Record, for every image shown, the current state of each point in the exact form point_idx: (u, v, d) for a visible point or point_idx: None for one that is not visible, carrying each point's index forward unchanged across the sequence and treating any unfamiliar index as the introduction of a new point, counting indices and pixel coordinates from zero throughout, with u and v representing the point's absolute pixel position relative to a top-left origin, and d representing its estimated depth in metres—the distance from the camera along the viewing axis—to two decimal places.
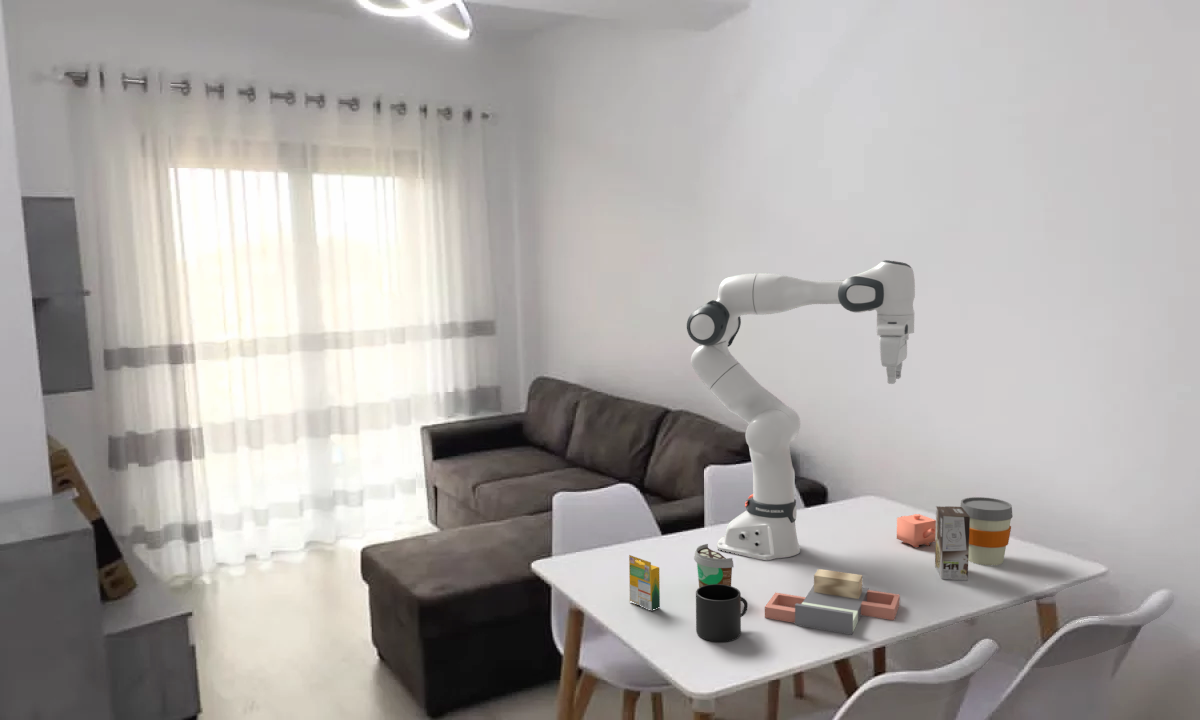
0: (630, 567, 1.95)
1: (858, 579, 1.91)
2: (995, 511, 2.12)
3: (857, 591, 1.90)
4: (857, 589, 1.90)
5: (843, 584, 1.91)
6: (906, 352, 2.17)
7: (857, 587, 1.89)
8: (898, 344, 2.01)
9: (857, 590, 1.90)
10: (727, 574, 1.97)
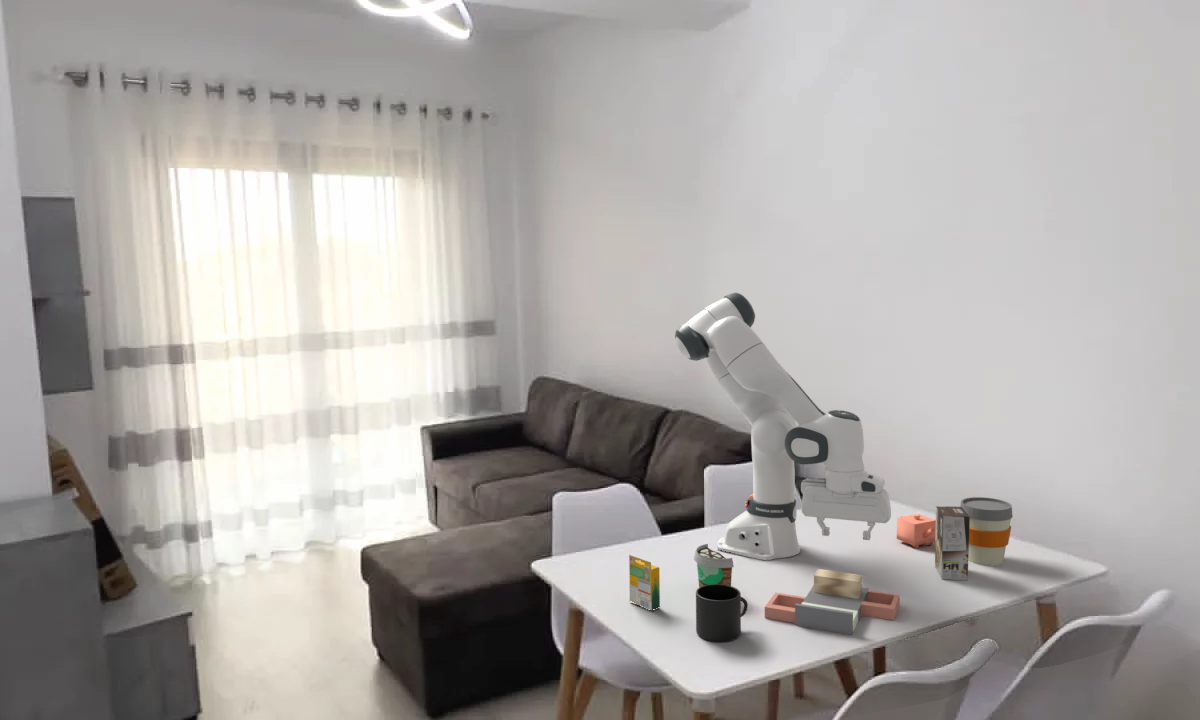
0: (630, 567, 1.95)
1: (858, 579, 1.91)
2: (995, 511, 2.12)
3: (857, 591, 1.90)
4: (857, 589, 1.90)
5: (843, 584, 1.91)
6: None
7: (857, 587, 1.89)
8: (888, 496, 1.95)
9: (857, 590, 1.90)
10: (727, 574, 1.97)
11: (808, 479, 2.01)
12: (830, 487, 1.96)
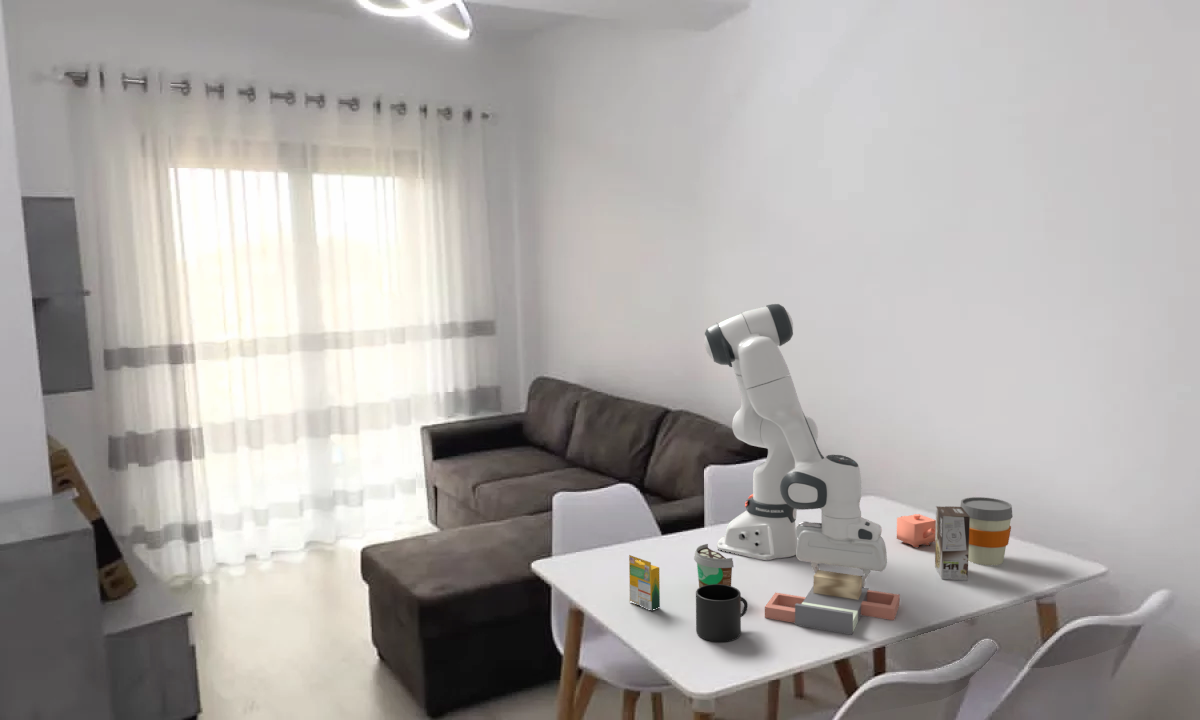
0: (630, 567, 1.95)
1: (858, 580, 1.90)
2: (995, 511, 2.12)
3: (857, 591, 1.89)
4: (857, 590, 1.89)
5: (842, 585, 1.90)
6: None
7: (857, 588, 1.89)
8: (884, 543, 1.92)
9: (857, 591, 1.89)
10: (727, 574, 1.97)
11: (804, 523, 1.98)
12: (826, 533, 1.93)
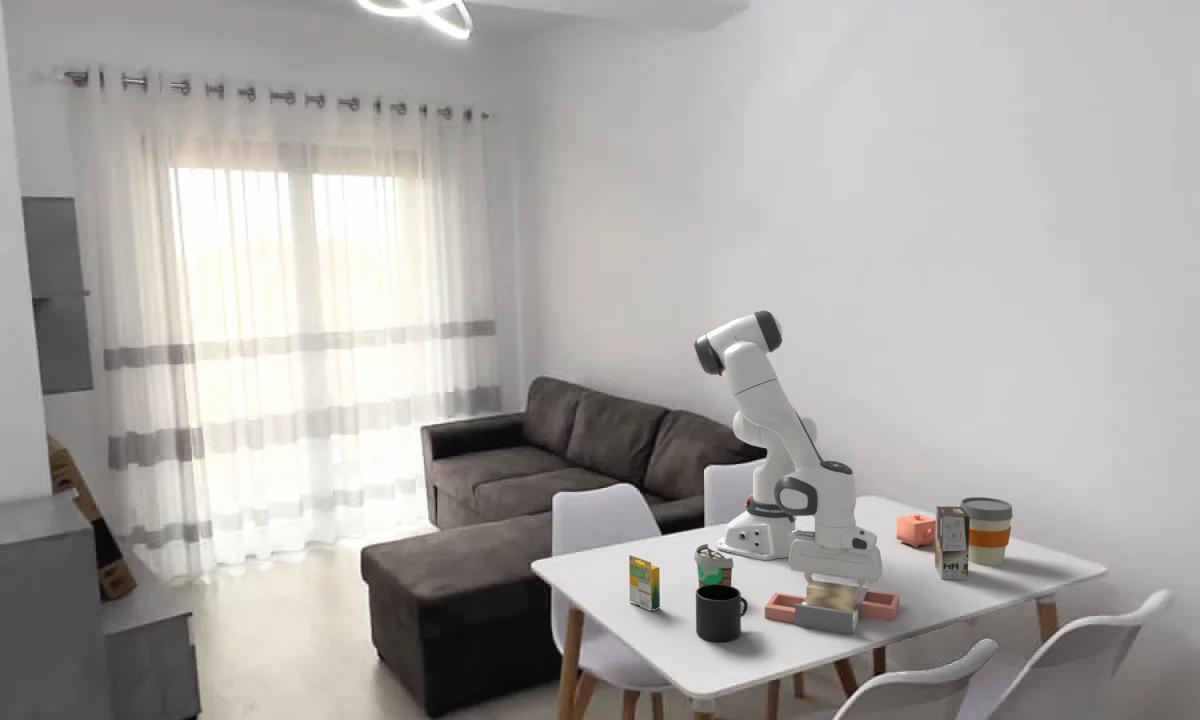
0: (630, 567, 1.95)
1: (852, 591, 1.84)
2: (995, 511, 2.12)
3: (851, 603, 1.83)
4: (851, 601, 1.83)
5: (836, 596, 1.84)
6: None
7: (851, 599, 1.83)
8: None
9: (851, 602, 1.83)
10: (727, 574, 1.97)
11: (796, 532, 1.92)
12: (819, 542, 1.86)
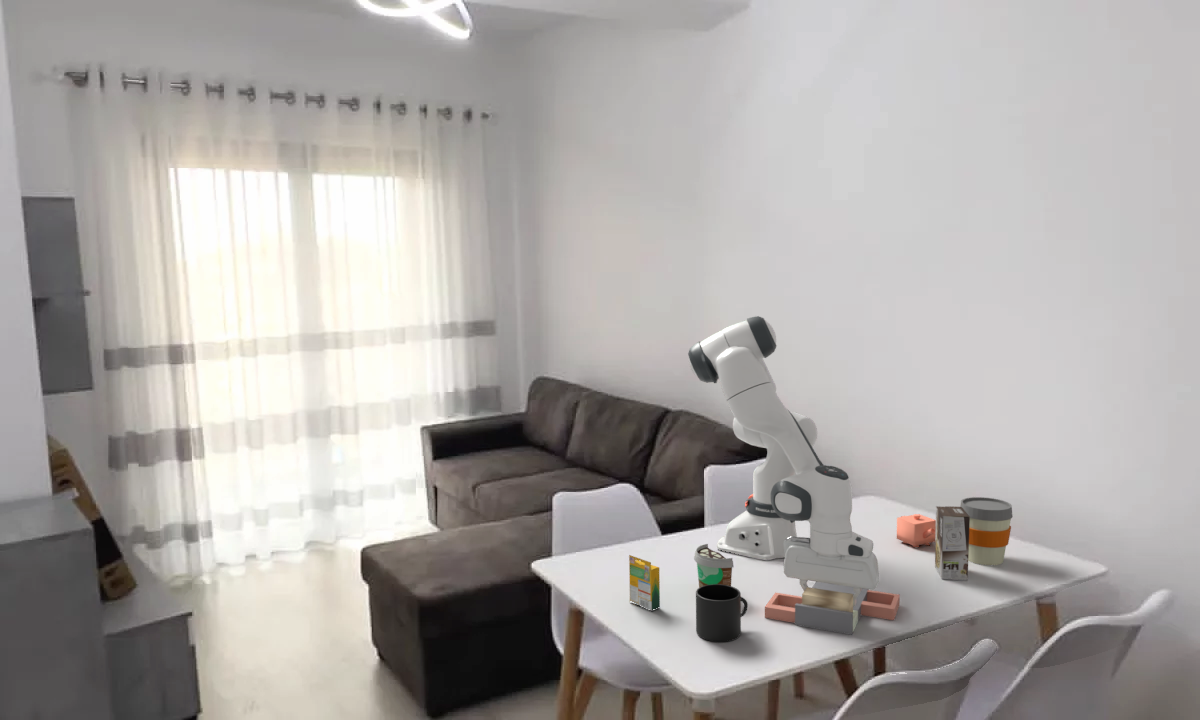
0: (630, 567, 1.95)
1: (849, 598, 1.80)
2: (995, 511, 2.12)
3: (848, 611, 1.79)
4: (847, 609, 1.79)
5: (832, 604, 1.80)
6: None
7: (847, 607, 1.79)
8: (876, 560, 1.82)
9: (847, 610, 1.79)
10: (727, 574, 1.97)
11: (791, 538, 1.88)
12: (815, 549, 1.82)
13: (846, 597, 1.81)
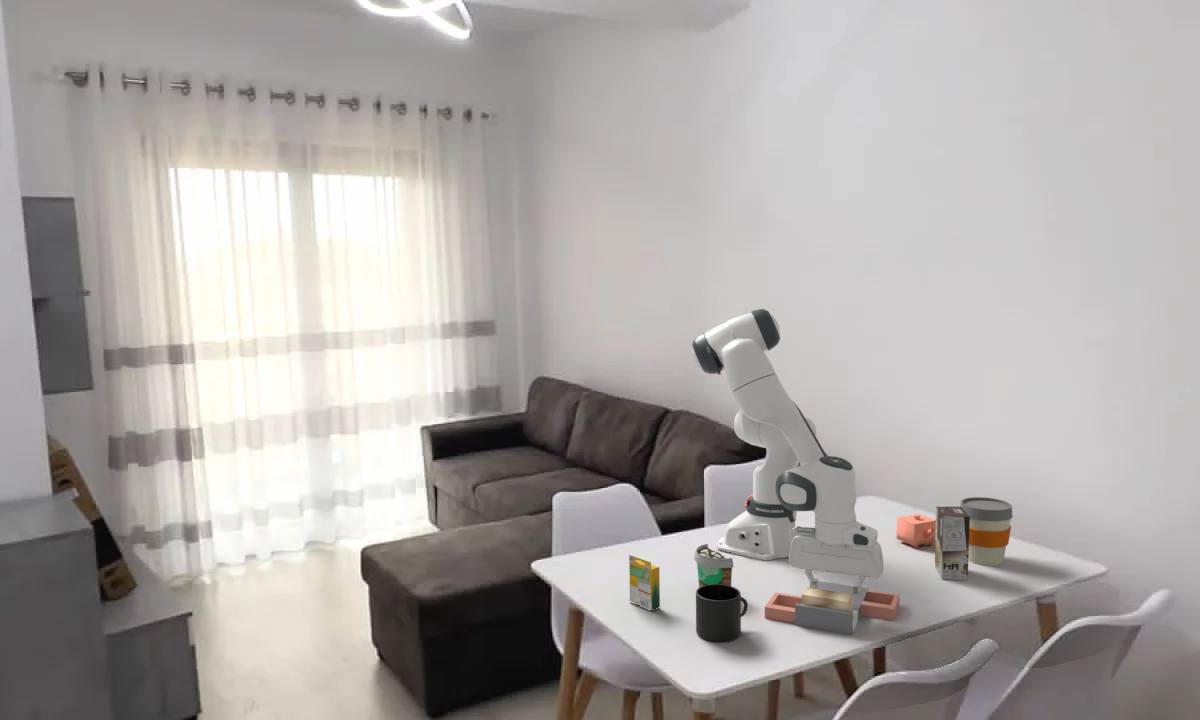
0: (630, 567, 1.95)
1: (848, 599, 1.80)
2: (995, 511, 2.12)
3: (848, 611, 1.79)
4: (847, 609, 1.79)
5: (832, 604, 1.80)
6: None
7: (847, 607, 1.78)
8: None
9: (847, 610, 1.79)
10: (727, 574, 1.97)
11: (796, 528, 1.90)
12: (820, 538, 1.85)
13: (846, 597, 1.80)
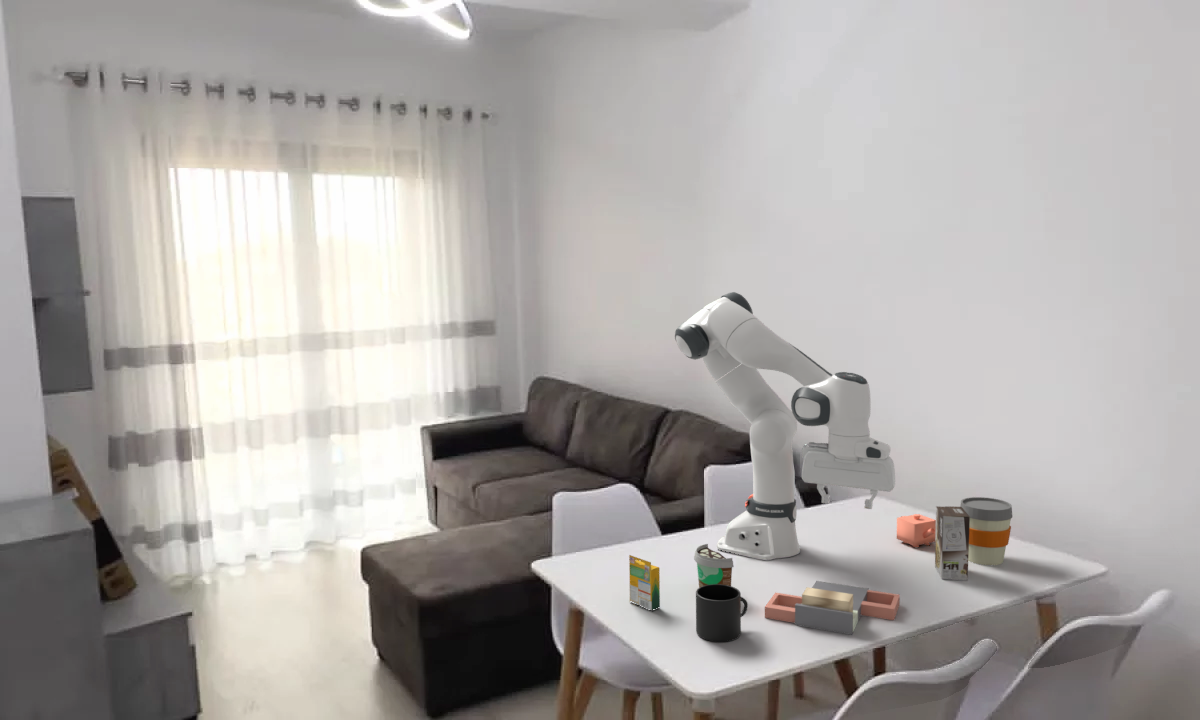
0: (630, 567, 1.95)
1: (848, 599, 1.80)
2: (995, 511, 2.12)
3: (848, 611, 1.79)
4: (847, 609, 1.79)
5: (832, 604, 1.80)
6: None
7: (847, 607, 1.78)
8: (893, 464, 1.87)
9: (847, 610, 1.79)
10: (727, 574, 1.97)
11: (810, 444, 1.92)
12: (833, 452, 1.87)
13: (846, 597, 1.80)
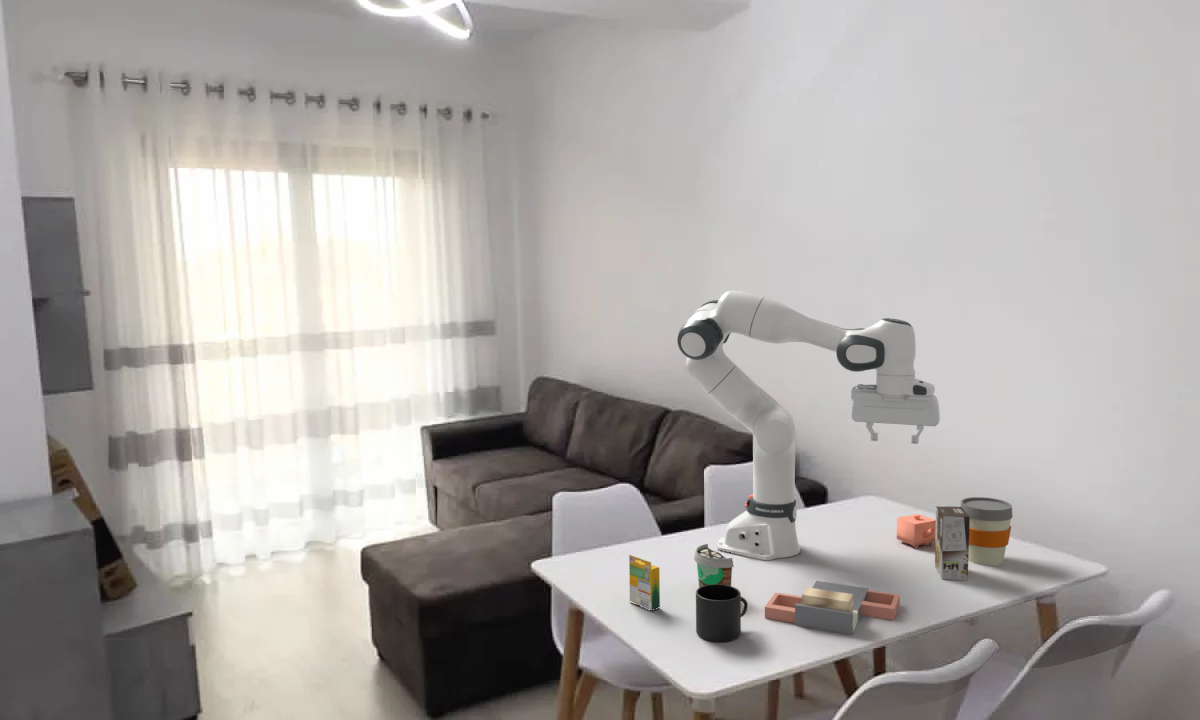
0: (630, 567, 1.95)
1: (848, 599, 1.80)
2: (995, 511, 2.12)
3: (848, 611, 1.79)
4: (847, 609, 1.79)
5: (832, 604, 1.80)
6: None
7: (847, 607, 1.78)
8: (937, 401, 2.02)
9: (847, 610, 1.79)
10: (727, 574, 1.97)
11: (859, 385, 2.07)
12: (882, 391, 2.02)
13: (846, 597, 1.80)
